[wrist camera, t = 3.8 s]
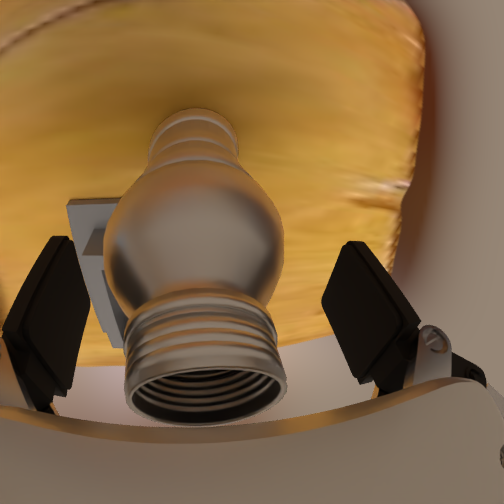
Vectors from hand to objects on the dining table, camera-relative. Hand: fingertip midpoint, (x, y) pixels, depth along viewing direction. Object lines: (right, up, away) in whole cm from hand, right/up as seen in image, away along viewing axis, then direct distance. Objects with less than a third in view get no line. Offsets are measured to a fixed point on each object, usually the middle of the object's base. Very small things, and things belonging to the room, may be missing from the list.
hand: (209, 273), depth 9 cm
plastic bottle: (-3, +9, +12) cm, 16 cm away
